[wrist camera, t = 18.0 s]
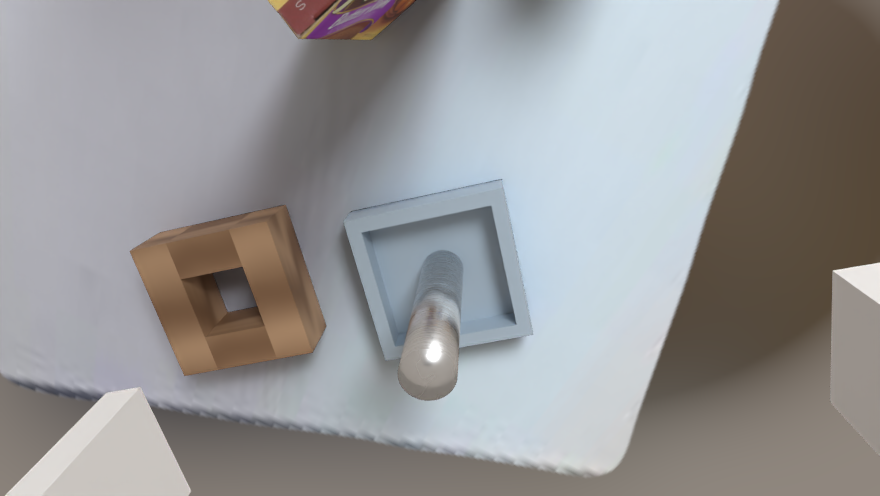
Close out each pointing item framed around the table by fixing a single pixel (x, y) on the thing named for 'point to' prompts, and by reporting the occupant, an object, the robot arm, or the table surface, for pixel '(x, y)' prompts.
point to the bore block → (200, 303)
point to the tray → (432, 229)
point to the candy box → (339, 17)
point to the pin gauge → (434, 329)
